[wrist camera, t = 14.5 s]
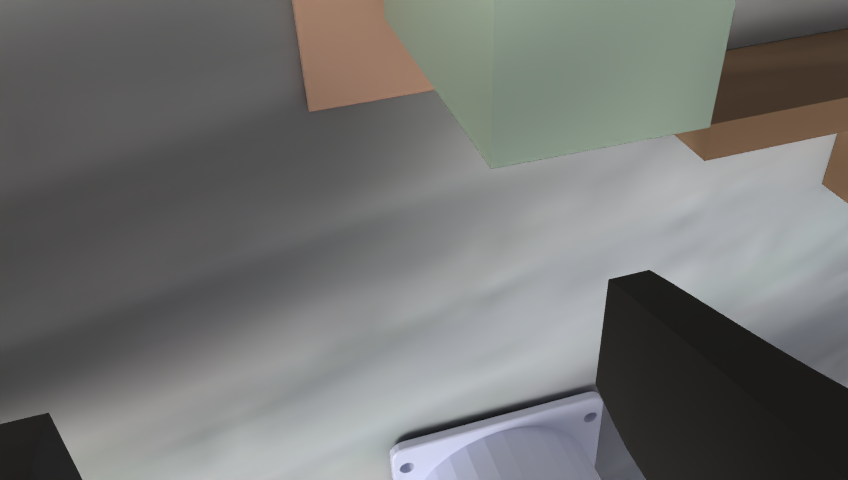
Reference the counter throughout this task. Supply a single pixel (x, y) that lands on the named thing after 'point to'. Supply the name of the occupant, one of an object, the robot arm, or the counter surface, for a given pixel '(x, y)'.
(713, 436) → the robot arm
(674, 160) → the counter surface
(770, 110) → the channel
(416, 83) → the tile
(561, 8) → the sage block
